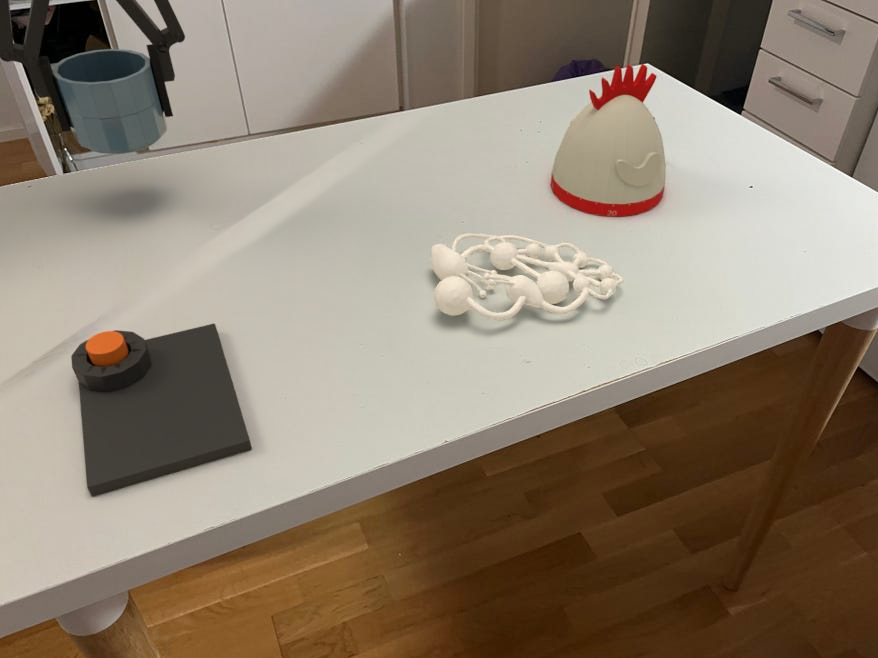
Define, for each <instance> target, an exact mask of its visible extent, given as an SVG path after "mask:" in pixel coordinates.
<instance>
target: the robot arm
mask: <svg viewBox="0 0 878 658" xmlns="http://www.w3.org/2000/svg"><path fill="white" fill-rule="evenodd" d="M50 1H51V0H31V1H30V2H31V3H30V8H29V11H28V12H29V13H28V18H27V24H26V29H25V35H24V40H23V44H19V43H15V42H14V34H13V25H12V15H11V6H10V0H0V60H2V61H3V62H6V63H11V62H16V63H20V64H22V65H23V66H24V67H25V68H26V70H27V73H28V76H29V79H30V81H31V84H32V86H33V90H34V92H35V94H36V96H37V97H38V98H39V99H43V98H49V99H50V101H51V103H52V106H53V109H54V112H55V114H56V118H57V120H58V123H59V126H60V128H61V132H63V133H64V132H72V130H71V127H70V124H69V121H68V118H67V116H66V113H65V110H64V107H63V104H62V101H61V98H60V96H59V93H58V90H57V87H56V84H55V81H54V78H53V76H52V70H53V67H52V65H51V62H50V60H49V56H48V55H43V56H40V52H41V46H42V42H43V36H44V33H45V26H46V22H47V17H48V11H49V6H50ZM115 1H116V2H117V4H118V5H119V6H120V7H121V9H123V11H124V12H125V13H126V15H128V17H129V18H130V19H131V20H132V22H133V23H134V24H135V25H136V27H137V28H138V29H139V30H140V31H141V32H142V34H143V35H144V36H145V37H146V38H147V39H148V41H149V42H150V44H146V50H147V53H148V58H149V59H150V60H151V64H152V68H153V72H154V76H155V79H156V83H157V87H158V91H159V95H160V99H161V103H162V107H163V110H164V114H165V118H171V117H174V114H173V110H172V106H171V102H170V98H169V94H168V90H167V86H166V83H168V82H174V81H175V77H176V75H175V70H174V66H173V61H172V57H171V54H170V49H171V47H172V46H173V45H176V44H177V43H179V44H181V43H183V42H184V41H185V40H186V35H185V33H184V32H185V31H184V30H183V28H182V25H181V24H180V22H179V19H178V18H177V15H176V13H175V10H174V9H173V7H172V5H171V3H170V0H153V1H154V4H155V5H156V7H157V9H158V12H159V13H160V15H161V18H162V20H163V22H164V24H165V25H166V27H165V28H162V29H160V28H159V26H158V25H157V24H156V22H154V20H153V19H152V18H151V17H150V16H149V15H148V13H147V12H146V11H145V9H144V8H143V7H142V6H141V5H140V3H139V2H138V1H137V0H115Z"/></svg>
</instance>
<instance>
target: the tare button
mask: <svg viewBox="0 0 878 658" xmlns="http://www.w3.org/2000/svg"><path fill="white" fill-rule="evenodd" d="M88 339H89V340H88ZM88 339H87V340H88V341H87V340H86V341H87V343H86V350H87V352H88V354H89V357H90V359H91V361H92V363H93V364H94V365H95V366H99V367H107V366H111V365H115V364H118V363H119V362H121V361H122V360H124V359H126V358H127V356H128V348H127V345H126V343H125V340H124V338H123V336H122V335H121V334H120V333H118V332H115V331H114V330H108V331H102V332H99V333H96V334H94V335H93V336H91V337H90V338H88Z"/></svg>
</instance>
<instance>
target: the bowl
mask: <svg viewBox="0 0 878 658" xmlns="http://www.w3.org/2000/svg"><path fill="white" fill-rule="evenodd" d="M52 76H53V78H54V81H55V84H56V87H57V90H58V93H59V96H60V98H61V101H62V104H63V107H64V110H65V113H66V116H67V118H68V121H69V124H70V128H71V132H72V136H73V138H74V140H75V142H77V144H78V145H79V146H80V147H82V148H85V149H88V150H90V151H92V152H95V153H100V154H107V155H120V154H129V153H133V152H138V151H141V150H144V149H146V148H149V147H151V146H152V145H155V144H156V143H158V141H159V140H160V139H161V138H162V136H163V135H165V133H166V132H167V131H168V122H167V117H165V114H164V110H163V107H162V103H161V99H160V95H159V91H158V87H157V83H156V79H155V76H154V72H153V68H152V64H151V60H150V57H149V56H147V55H146V54H144V53H143V52H139V51H136V50H132V49H122V48H121V49H120V48H106V49H95V50H90V51H84V52H80V53H76V54H74V55H70V56H68V57H65V58H63V59H61V60H59V62H57V63H56V64H54V65H53V67H52Z"/></svg>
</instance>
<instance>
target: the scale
mask: <svg viewBox="0 0 878 658" xmlns="http://www.w3.org/2000/svg"><path fill="white" fill-rule="evenodd" d="M113 331H115V332H118V333H120V334H121V335H122V336H123V338H124V340H125V343H126V345H127V348H128V356H127V358H126V359H124V360H122V361H121V362H119V363H118V364H115V365H111V366H107V367H99V366H95V365H94V364H93V363H92V361H91V359H90V357H89V354H88V352H87V350H86V343H87V341H88V340H89V339H90V338H88V339H86V340H85V341H83V342H81V343H80V344H79V345H78V346H77V348H76V349H75V350H74V351H73V353H72V355H71V358H70V359H71V368H72V370H73V372H74V375H75V377H76V380H77V381H78V393H79V400H80V401H79V404H80V405H79V406H80V415H81V416H80V418H81V428H82V429H81V430H82V440H83V441H82V442H83V453H84V463H85V464H84V466H85V477H86V488H87V490H88V492H89V494H90V496H91V497H97V496H100V495H103V494H107V493H111V492H114V491H117V490H120V489H124V488H127V487H131V486H134V485H137V484H141V483H144V482H147V481H151V480H155V479H159V478H160V477H165V476H168V475H171V474H174V473H175V474H176V473H178V472H182V471H185V470H189V469H192V468H195V467H200V466H201V465H205V464H208V463H213V462H216V461H218V460H222V459H226V458H229V457H232V456H236V455H239V454H242V453H246V452H249V451H252V450H253V447H252V444H251V443H252V442H251V440H250V436H249V433H248V430H247V427H246V423H245V420H244V416H243V413H242V410H241V406H240V403H239V399H238V396H237V393H236V389H235V387H234V382H233V379H232V376H231V373H230V369H229V366H228V363H227V360H226V356H225V352H224V349H223V346H222V341H221V339H220V336H219V333H218V329H217V326H216V323H210V324H206V325H202V326H198V327H193V328H190V329H184V330H181V331H177V332H172V333H168V334H163V335H160V336H155V337H152V338H147V339H145V338H143V337H142V336H140V335H139V334H137V333H136V332H134V331H128V330H113Z"/></svg>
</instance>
